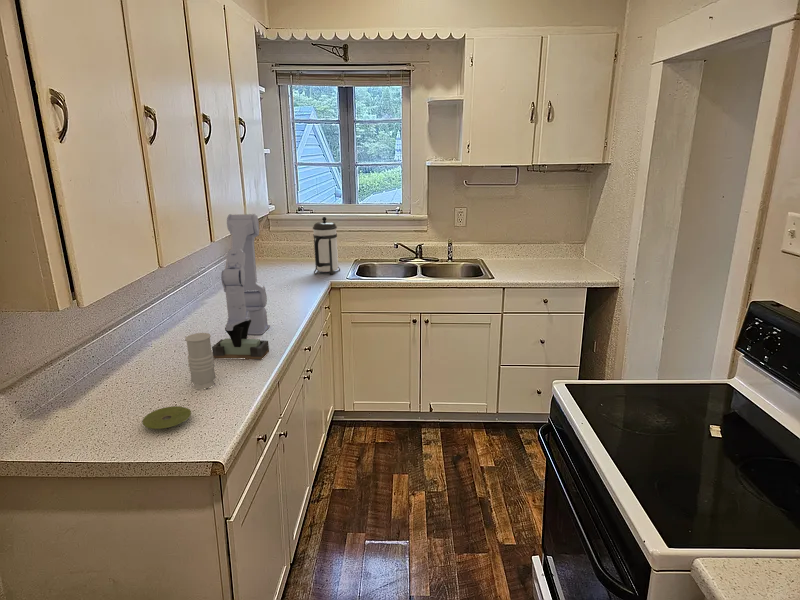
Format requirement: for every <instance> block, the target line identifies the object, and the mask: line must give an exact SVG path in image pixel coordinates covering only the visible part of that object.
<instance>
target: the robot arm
mask: <svg viewBox="0 0 800 600" xmlns="http://www.w3.org/2000/svg"><path fill="white" fill-rule="evenodd" d="M226 227H227V230H228V231H229V234H230V235H231V249H230V250H228V251H227V253H226V261H225V267H224V269H222V271H221V273H220V276H221V277H220V280H221V285H222V287H223V292H224V293H225V300H226V301H225V302H226V309H227V321H226V324H225V327H224V330H225V332H226V333H227V335H229V338H230V339H231V340H232V343H233V345H234V347H241V339H248V335H257V336H258V335H259V336H260V335H263V334H264V333H265V332H266V331H267V330H268V329H269V328H270V327H271V324H270V325H269V324H268V314H267V309H266V306H267V303H268V297H267V296H268V295H267V293H266V292H267V291H266V287H265V285H263V284H261V283H260V282H258V279H257V277H258V275H257V265H256V264H257V262H256V251H255V239H256V237H258V236H259V235H260V224H259V217H258V215H257V214H256V213H249V214H247V213H246V214H245V213H243V214H231V213H230V214H228V216H227V217H226Z"/></svg>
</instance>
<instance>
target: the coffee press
mask: <svg viewBox="0 0 800 600" xmlns="http://www.w3.org/2000/svg"><path fill="white" fill-rule="evenodd" d="M321 219H322V221H318V222H317V221H316V222H315V223H313V226H312V230H313V235H312V238H313V244H314V245H313V246H314V261H315V265H314V266H315V270H314V271H313V273H314V274H315V275H317V274H318V273H319V272H321V273H322V272H323V273H329V274H330V276H334V275H335V273H334V272H335V271H338V272H340V271H341V268H340V267H339V259H338V258H339V257H338V233H337V228H338V226H337V225H336V223H335V222H333V221H330V220H329V221H328V220H327V217H326V216H322V218H321Z"/></svg>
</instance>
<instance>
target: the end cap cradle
mask: <svg viewBox="0 0 800 600" xmlns="http://www.w3.org/2000/svg"><path fill="white" fill-rule="evenodd" d="M223 340H224V339H220V340H218V342H216V343H215V344H214V345H213V346H211V351H212V353H213V358H245V359H244V360H249V359H262V358H263V357H264V356H265V355H266V354H267V353H268V354H269V352H270V348H269V340H262V339H260V346H259V347H250V354H251V355H237V354H225V352H224V346H220V342H222V341H223ZM268 354H267V355H268ZM267 355H266V356H267ZM266 356H265V357H266ZM265 357H264V358H265ZM264 358H263V359H264ZM263 359H262V360H263Z"/></svg>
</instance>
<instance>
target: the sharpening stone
mask: <svg viewBox="0 0 800 600" xmlns="http://www.w3.org/2000/svg"><path fill="white" fill-rule="evenodd" d="M260 340H261V339H260V338H259V339H258V338H247V339H241V347H234V345H233V343H232V340H231V338H230V337H229V338H227V337H225V338H224V339H223V341H222V342H220V346H224V352H225V354H237V355H251V354H250V347H259V346H260Z"/></svg>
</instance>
